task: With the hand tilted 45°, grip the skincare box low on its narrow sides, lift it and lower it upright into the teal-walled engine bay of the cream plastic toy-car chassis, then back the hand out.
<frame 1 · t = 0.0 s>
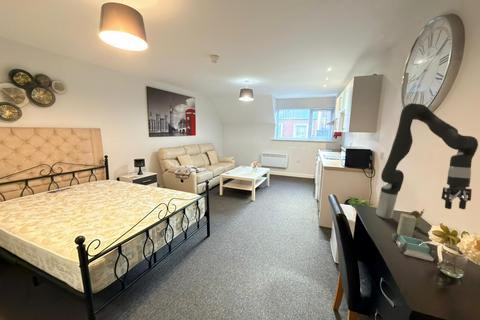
hand: (454, 208, 97), 22 cm above the table, tool pointing down, fingers open, 8 cm apart
snail figurine: (413, 226, 125), on the table
skincare box: (403, 235, 112), on the table
toy car chassis: (411, 249, 99), on the table
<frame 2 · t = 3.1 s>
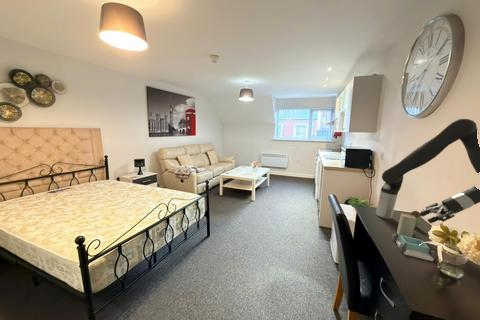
hand: (424, 218, 108), 12 cm above the table, tool tilted 45°, fingers open, 8 cm apart
nothing on the table moved.
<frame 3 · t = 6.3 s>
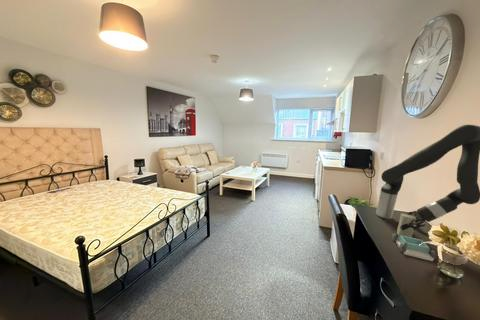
hand: (399, 226, 113), 5 cm above the table, tool tilted 45°, fingers closed on skincare box, 4 cm apart
skincare box: (403, 235, 112), on the table, touching gripper
everything else where it was.
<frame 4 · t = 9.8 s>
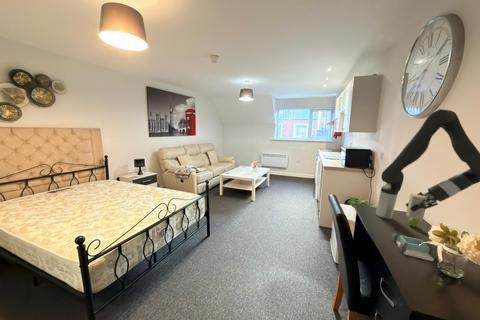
hand: (409, 207, 105), 18 cm above the table, tool tilted 45°, fingers closed on skincare box, 4 cm apart
skincare box: (413, 217, 105), point 13 cm above the table, touching gripper
everything else where it was.
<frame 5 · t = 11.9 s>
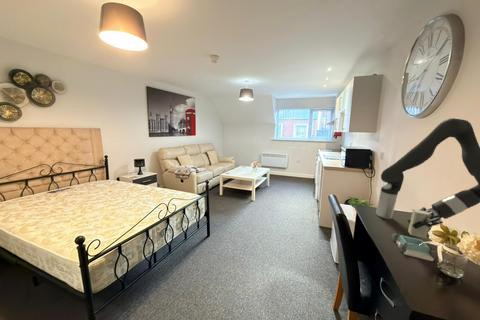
hand: (411, 224, 98), 13 cm above the table, tool tilted 45°, fingers closed on skincare box, 4 cm apart
skincare box: (416, 234, 97), point 8 cm above the table, touching gripper
everything else where it was.
when the fingers open (7 cm above the table, at t = 13.6 s): skincare box stays where it is, resting on toy car chassis.
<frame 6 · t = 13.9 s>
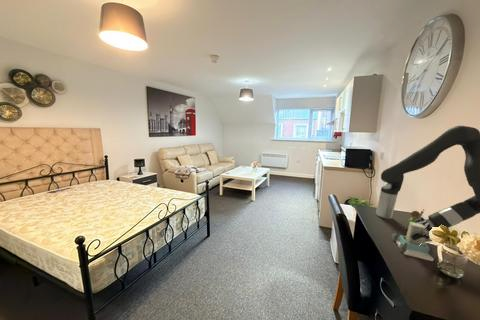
hand: (408, 234, 99), 7 cm above the table, tool tilted 45°, fingers open, 6 cm apart
skincare box: (412, 247, 99), point 1 cm above the table, touching toy car chassis
everything else where it was.
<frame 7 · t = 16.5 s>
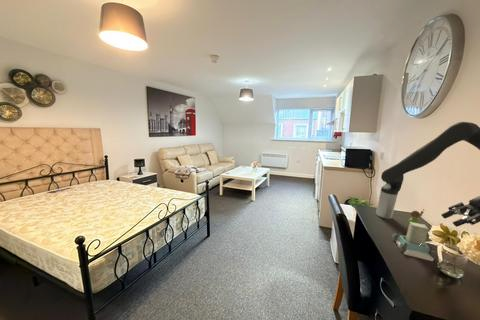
hand: (448, 220, 92), 18 cm above the table, tool tilted 45°, fingers open, 8 cm apart
nothing on the table moved.
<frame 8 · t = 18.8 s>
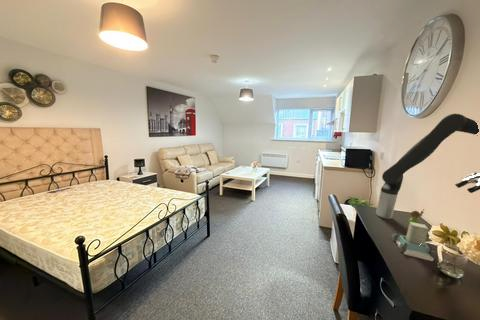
hand: (462, 188, 96), 33 cm above the table, tool tilted 45°, fingers open, 8 cm apart
nothing on the table moved.
at the end: skincare box 0.4 cm off-centre on the toy car chassis, point 1.3 cm above the toy car chassis's base; skincare box tilted 0°; the gripper is holding nothing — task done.
